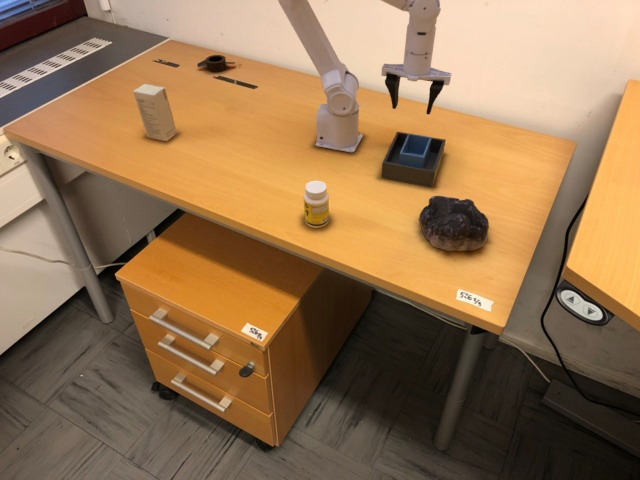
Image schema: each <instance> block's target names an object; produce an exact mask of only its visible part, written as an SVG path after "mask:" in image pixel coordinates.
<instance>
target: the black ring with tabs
mask: <svg viewBox="0 0 640 480" xmlns="http://www.w3.org/2000/svg"><path fill="white" fill-rule="evenodd" d="M226 60H227V59H226V56H225V55H221V54H212V55H209V56H207V57H205V59H204V60H201V61H200V62H198V63H197V68H203V67H206V71H208V72H209V73H213V74H216V73H218V74H219V73H222V72H224V71H226V70H227V68H228V66H227V65H235V64H236V61H226Z"/></svg>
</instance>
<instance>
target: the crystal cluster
mask: <svg viewBox="0 0 640 480" xmlns="http://www.w3.org/2000/svg"><path fill="white" fill-rule="evenodd" d="M418 223H419V224H420V226H421V227H422V232H423V235H424V237H425V239H426V240H428V241H429V242H430V244H431V246H433V248H437V249H440V250H444V251H447V252H454V251H457V252H458V251H459V252H465V251H474V250H478V249H480V248H482V247H484V245H486V242H488V237H489V233H488V231H489V228H490V226H489V225H490V223H489V218H488V217H487V216H486V215H485V213H483V212H481V210H479V208H477V206H476V205H475V203H474V201H473V200H471V199H469V198H465V199H460V198H457V197H452V196H451V197H450V196H444V195H433V196H431V197H430V198H429V199H428V205H425V207H423V208H422V210H421V212H420V214H419V218H418Z"/></svg>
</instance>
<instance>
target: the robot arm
mask: <svg viewBox="0 0 640 480" xmlns="http://www.w3.org/2000/svg"><path fill="white" fill-rule="evenodd" d="M277 1H278V4H279V5H280V8H281V9H282V11H283V12H284V14H285V16H286V18H287V20H288V21H289V23H290V25H291V27H292V28H293V30H294V32H295V34H296V36H297V38H298V39H299V41H300V43H301V44H302V46H303V49H304V50H305V51H306V53H307V55H308V57H309V59H310V60H311V62H312V64H313V66H314V68H315V69H316V72H317V73H318V75H319V76H320V80H321V85H322V89H323V92H324V94H325V96H326V103H321V104H320V105H319V107H318V109H317V111H316V112H317V113H316V118H315V127H316V128H315V131H316V132H315V133H316V143H315V146H316V147H318V148H323V149H329V150H335V151H340V152H346V153H353V154H354V153H355V152H356V150H357V148H358V146H359V144H360V142H361V141H362V139H363V137H364V135H363V133H359V120H360V119H359V117H360V115H359V114H360V105H359V102H358V101H357V96H358V90H359V88H360V83H359V79H358V77H357V76H356V75H355V74H354V73H352V72H351V71H350V70H349V68H348V67H347V65H346V64H345V63H344V62H342V61H341V60H340V59H339V57H338V55H337V53H336V51H335V49H334V47H333V45H332V44H331V42H330V39H329V38H328V36H327V34H326V32H325V30H324V28H323V26H322V24H321V22H320V21H319V19H318V17H317V15H316V12H315V11H314V10H313V8H312V6H311V4H310V2H309V0H277ZM380 1H381V2H383V3H385V4H388V6H391V7H393V8H395V9H397V10H400V11H401V12H407V13H408V15H409V17H408V24H407V25H406V32H405V33H406V34H405V44H404V54H403V61H402V62H403V63H394V64H393V63H383V64H382V67H381V74H380V75H381V76H382V77H385V79H384V85H385V86H386V88H387V90H388V93H389V96H390V101H391V107H392V109H393V110H396V109H397V107H398V105H399V94H400V93H399V92H400V91H399V90H400V83H401V78H404V79H407V81H410V82H418V81H424V82H425V81H426V82H431V84H430V87H429V94H428V104H427V108H426V112H425V113H426V115H430V114H431V112H432V109H433V105H434V104H435V102H436V100H437V98H438V96H439V95H440V94H441V92H442V91H443V88H444V86H449V85H450V84H451V79H452V74H453V73H452V72H449V71H445V70H440V69H437V68H434V67H432V61H433V54H434V53H433V52H434V46H435V40H436V39H435V38H436V31H437V26H436V24H437V20H438V17H439V15H440V13H441V11H442V9H441V1H440V0H380Z"/></svg>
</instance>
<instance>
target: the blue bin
mask: <svg viewBox="0 0 640 480" xmlns="http://www.w3.org/2000/svg"><path fill="white" fill-rule="evenodd" d="M407 133H408V132H407ZM431 138H433V137H432V136H427V135H422V134H421V135H420V134H415V133H408V136H407V138H406V140H405V142H404V145H403V147H402V149H401V152H400V156H399V164H402V165H407V166H413V167H418V168H425V165H426V162H427V160H428V157H429V151H430V145H431Z"/></svg>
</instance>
